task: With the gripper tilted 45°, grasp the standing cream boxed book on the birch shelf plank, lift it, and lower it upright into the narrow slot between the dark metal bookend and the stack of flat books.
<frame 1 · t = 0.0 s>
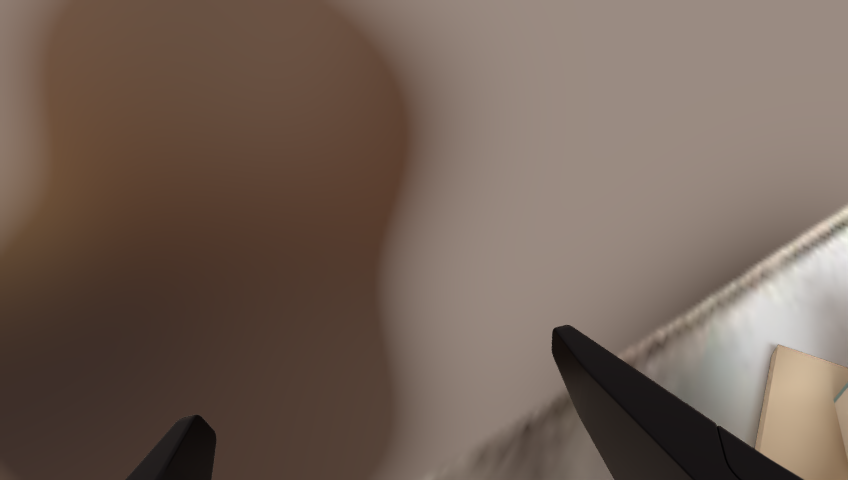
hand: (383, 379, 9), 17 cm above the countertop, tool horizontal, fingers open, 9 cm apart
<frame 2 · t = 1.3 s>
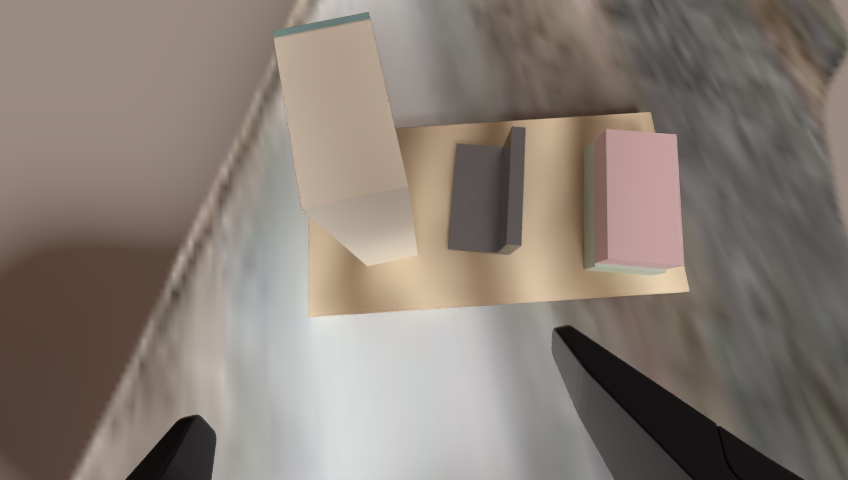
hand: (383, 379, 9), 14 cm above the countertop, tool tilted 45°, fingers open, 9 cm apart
metal bookend: (485, 190, 22), on the shelf plank, point 3 cm above the countertop
shelf plank: (486, 213, 24), on the countertop
boxed book: (383, 215, 23), point 1 cm above the countertop, touching shelf plank
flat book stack: (628, 202, 21), on the shelf plank, point 3 cm above the countertop
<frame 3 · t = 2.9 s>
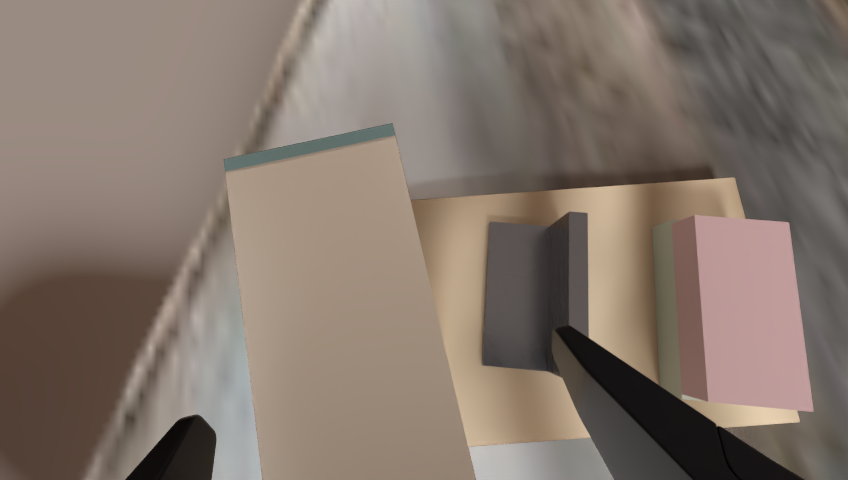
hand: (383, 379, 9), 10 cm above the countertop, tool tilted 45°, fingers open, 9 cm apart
metal bookend: (532, 292, 17), on the shelf plank, point 3 cm above the countertop
shelf plank: (527, 308, 19), on the countertop
boxed book: (397, 317, 18), point 1 cm above the countertop, touching shelf plank
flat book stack: (721, 308, 16), on the shelf plank, point 3 cm above the countertop
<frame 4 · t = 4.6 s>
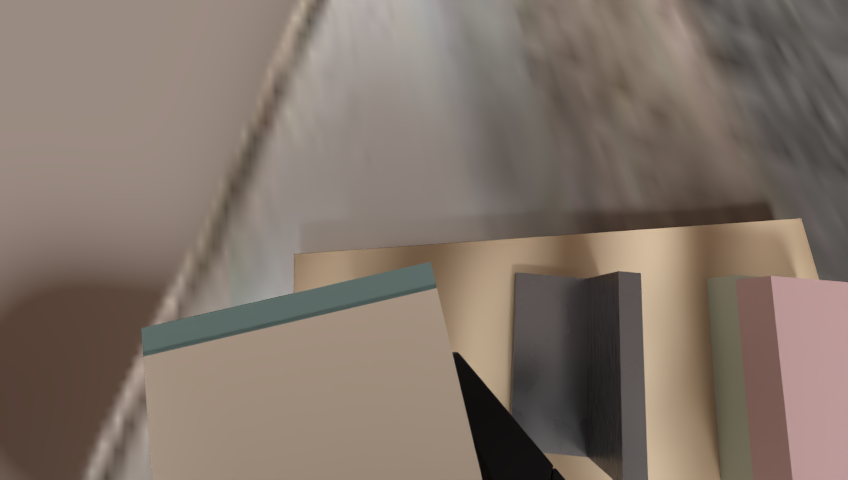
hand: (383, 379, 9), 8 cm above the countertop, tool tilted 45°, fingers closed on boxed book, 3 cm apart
metal bookend: (570, 364, 14), on the shelf plank, point 3 cm above the countertop
shelf plank: (559, 371, 16), on the countertop
boxed book: (407, 387, 15), point 1 cm above the countertop, touching gripper, shelf plank
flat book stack: (798, 385, 14), on the shelf plank, point 3 cm above the countertop
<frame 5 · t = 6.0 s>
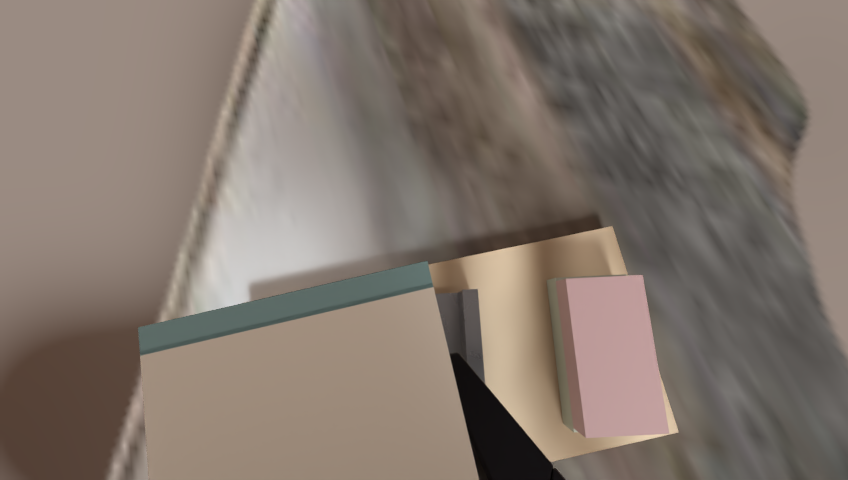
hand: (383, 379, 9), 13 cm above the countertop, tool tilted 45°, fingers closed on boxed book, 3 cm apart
metal bookend: (443, 358, 19), on the shelf plank, point 3 cm above the countertop
shelf plank: (450, 362, 22), on the countertop
boxed book: (406, 387, 15), point 7 cm above the countertop, touching gripper
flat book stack: (601, 350, 20), on the shelf plank, point 3 cm above the countertop
when the fingers open (9 cm above the countertop, at t = 7.8 s): boxed book drops 1 cm, resting on shelf plank.
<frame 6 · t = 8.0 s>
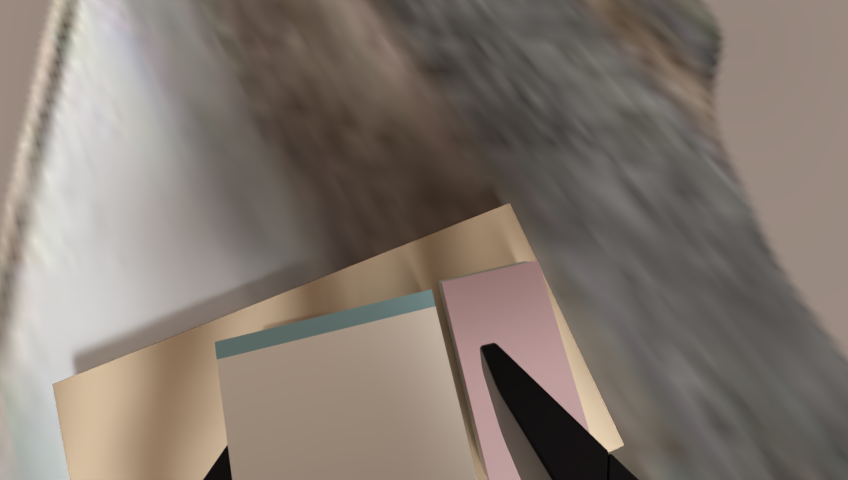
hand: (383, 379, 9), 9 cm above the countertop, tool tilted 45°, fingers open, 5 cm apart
shelf plank: (338, 407, 17), on the countertop
boxed book: (409, 380, 16), point 1 cm above the countertop, touching shelf plank
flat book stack: (507, 362, 15), on the shelf plank, point 3 cm above the countertop
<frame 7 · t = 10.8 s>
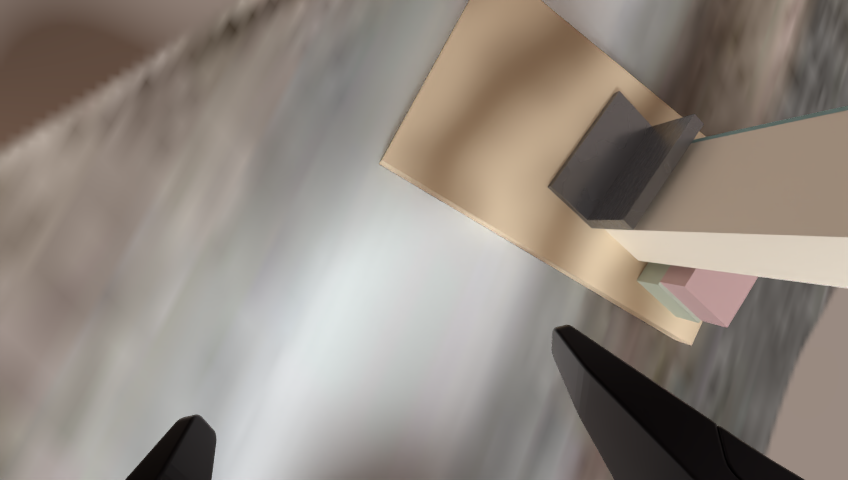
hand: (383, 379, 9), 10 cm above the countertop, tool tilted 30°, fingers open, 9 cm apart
metal bookend: (623, 156, 20), on the shelf plank, point 3 cm above the countertop
shelf plank: (589, 177, 22), on the countertop
boxed book: (647, 205, 22), point 1 cm above the countertop, touching shelf plank
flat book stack: (713, 249, 22), on the shelf plank, point 3 cm above the countertop
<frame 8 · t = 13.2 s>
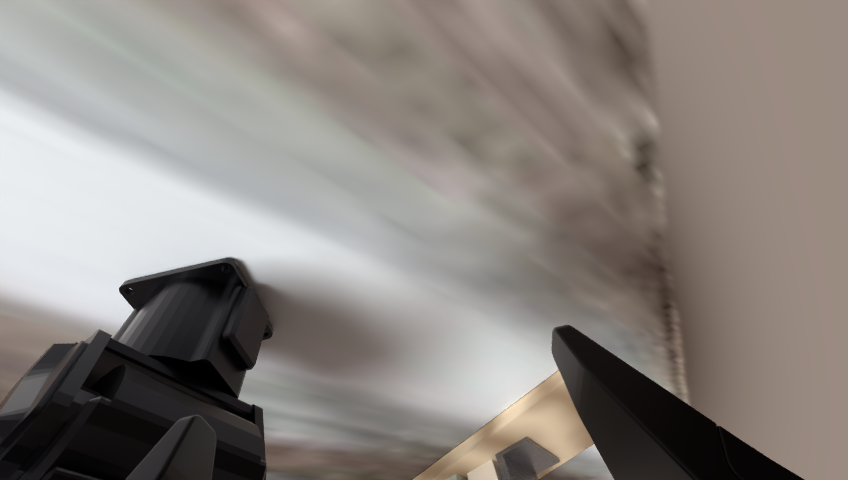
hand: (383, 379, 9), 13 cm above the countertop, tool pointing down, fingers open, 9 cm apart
metal bookend: (533, 471, 36), on the shelf plank, point 3 cm above the countertop
shelf plank: (516, 445, 38), on the countertop
boxed book: (495, 474, 38), point 1 cm above the countertop, touching shelf plank
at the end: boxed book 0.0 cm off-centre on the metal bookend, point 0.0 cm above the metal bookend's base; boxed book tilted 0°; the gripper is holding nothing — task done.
